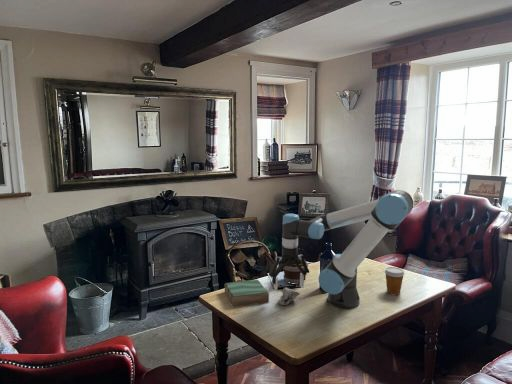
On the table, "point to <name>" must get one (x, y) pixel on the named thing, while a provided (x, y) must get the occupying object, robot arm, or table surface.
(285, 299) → the mineral specimen
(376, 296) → the table surface
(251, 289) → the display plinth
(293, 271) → the flowerpot
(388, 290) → the disposable coffee cup
